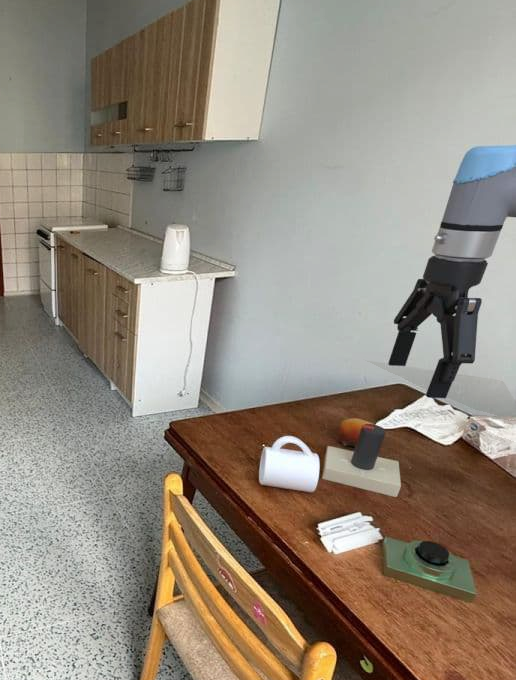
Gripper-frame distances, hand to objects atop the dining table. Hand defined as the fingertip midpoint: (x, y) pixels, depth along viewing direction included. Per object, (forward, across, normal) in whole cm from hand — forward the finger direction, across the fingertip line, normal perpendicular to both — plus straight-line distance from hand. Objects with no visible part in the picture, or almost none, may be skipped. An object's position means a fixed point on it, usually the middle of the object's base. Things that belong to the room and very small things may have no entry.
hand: (414, 380), depth 84 cm
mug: (+28, -4, -16) cm, 32 cm away
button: (+24, +19, +1) cm, 30 cm away
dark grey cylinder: (+24, -9, +1) cm, 26 cm away
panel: (+28, -9, +1) cm, 29 cm away
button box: (+28, +19, +1) cm, 33 cm away
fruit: (+28, -22, +5) cm, 36 cm away
